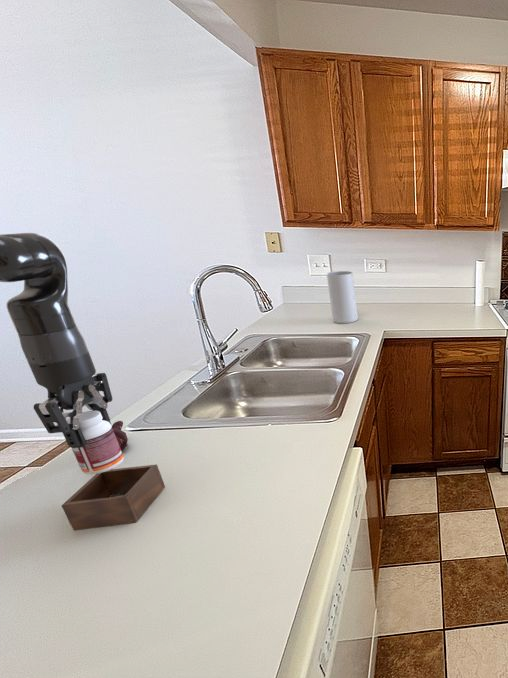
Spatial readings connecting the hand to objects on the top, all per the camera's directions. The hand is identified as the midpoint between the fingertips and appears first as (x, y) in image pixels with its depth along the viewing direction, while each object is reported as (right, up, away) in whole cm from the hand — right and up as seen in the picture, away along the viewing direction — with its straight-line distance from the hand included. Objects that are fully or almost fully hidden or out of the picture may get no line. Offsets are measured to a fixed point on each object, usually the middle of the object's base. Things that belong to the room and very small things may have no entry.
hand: (92, 436), depth 75 cm
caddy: (0, -16, +6) cm, 17 cm away
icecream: (-18, -9, +24) cm, 31 cm away
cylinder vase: (+2, +35, +136) cm, 140 cm away
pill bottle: (0, -6, +3) cm, 7 cm away
